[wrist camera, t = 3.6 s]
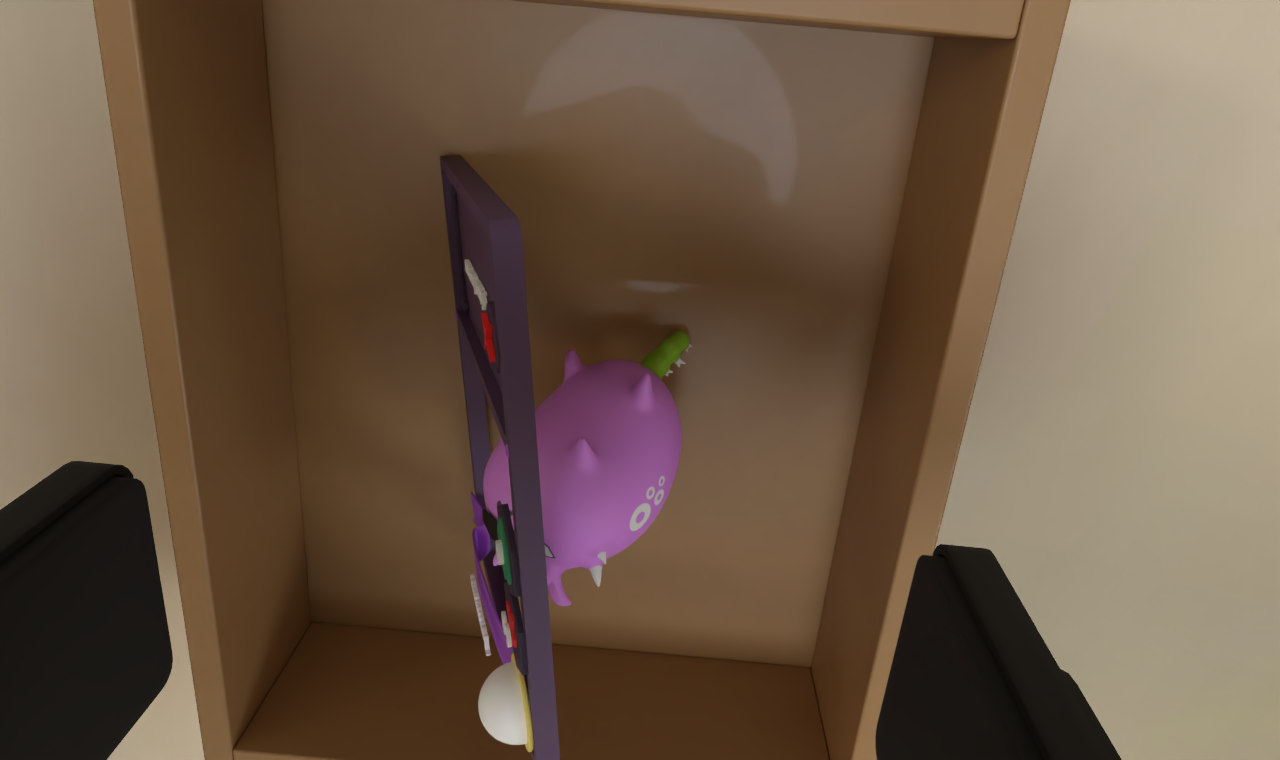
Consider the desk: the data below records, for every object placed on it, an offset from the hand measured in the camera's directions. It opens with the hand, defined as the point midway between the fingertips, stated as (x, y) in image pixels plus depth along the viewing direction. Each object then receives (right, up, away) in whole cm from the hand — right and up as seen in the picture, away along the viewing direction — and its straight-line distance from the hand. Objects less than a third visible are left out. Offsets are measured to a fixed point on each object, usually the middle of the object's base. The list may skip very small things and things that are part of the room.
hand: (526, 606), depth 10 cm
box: (0, +3, +8) cm, 8 cm away
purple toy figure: (0, +3, +8) cm, 8 cm away
